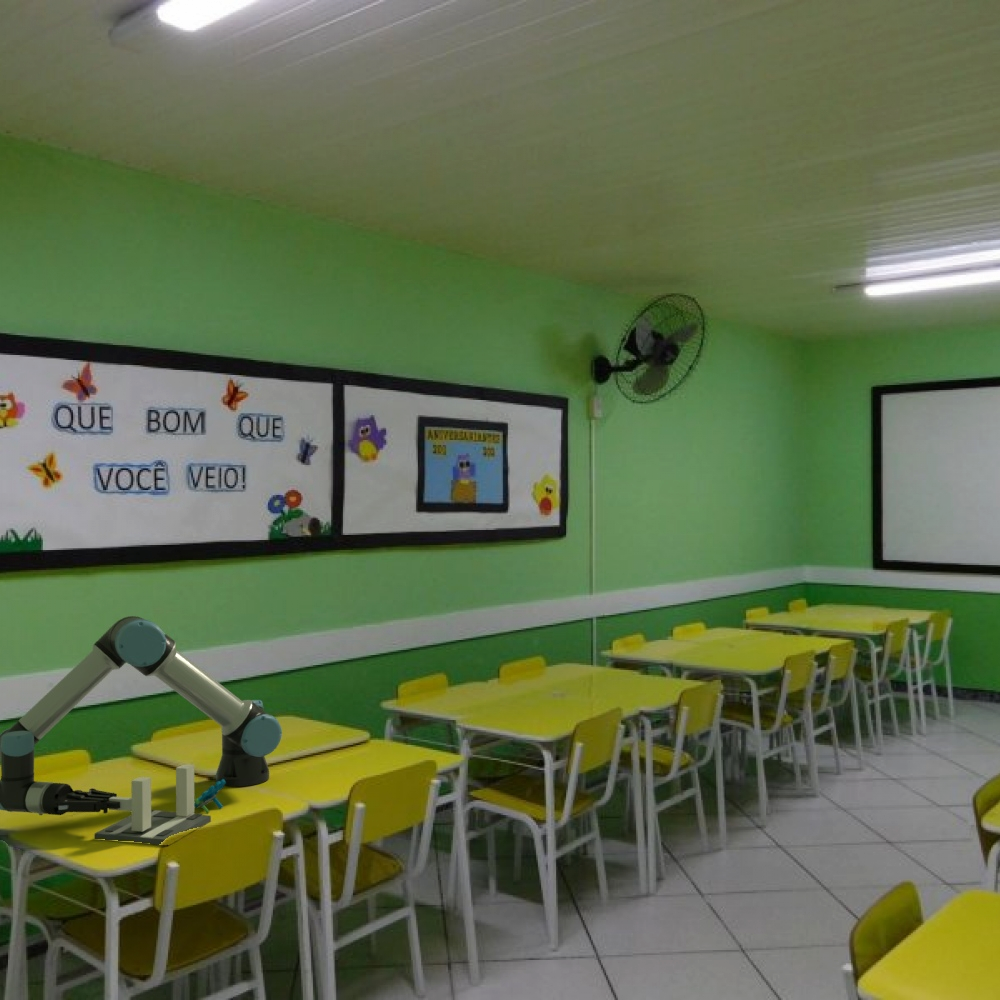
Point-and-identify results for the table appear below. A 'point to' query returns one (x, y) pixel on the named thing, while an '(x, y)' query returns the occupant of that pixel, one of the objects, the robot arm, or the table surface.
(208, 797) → the blue green branched piece
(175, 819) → the two post plate
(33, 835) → the table surface
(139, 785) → the tab
